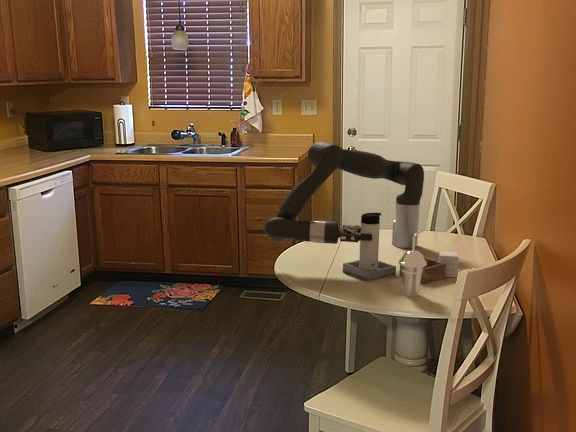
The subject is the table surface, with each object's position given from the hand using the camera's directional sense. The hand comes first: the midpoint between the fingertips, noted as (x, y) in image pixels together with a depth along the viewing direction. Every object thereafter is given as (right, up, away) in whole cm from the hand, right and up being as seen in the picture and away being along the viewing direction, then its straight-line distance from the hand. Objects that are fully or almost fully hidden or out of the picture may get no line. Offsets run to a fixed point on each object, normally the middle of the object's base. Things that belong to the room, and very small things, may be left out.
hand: (372, 234), depth 210 cm
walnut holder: (+17, -14, 0) cm, 22 cm away
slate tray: (-1, -13, +3) cm, 14 cm away
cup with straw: (+10, -18, -17) cm, 27 cm away
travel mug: (-1, -13, +3) cm, 13 cm away
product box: (+26, -14, +3) cm, 30 cm away
